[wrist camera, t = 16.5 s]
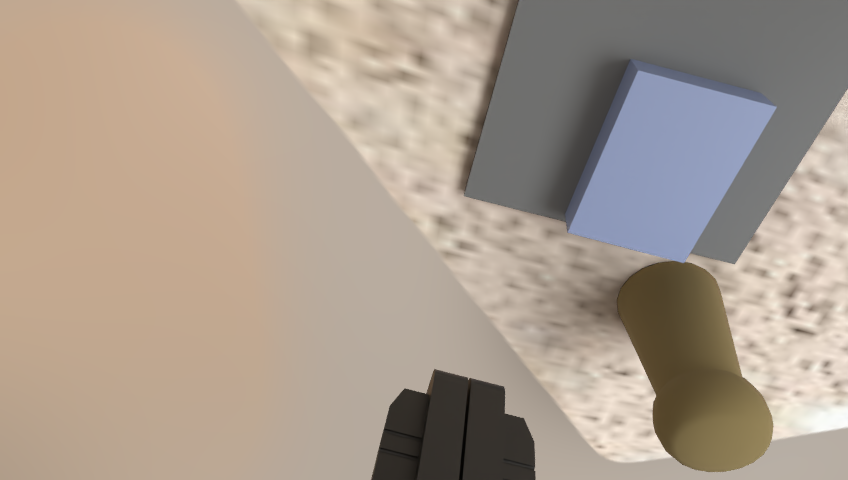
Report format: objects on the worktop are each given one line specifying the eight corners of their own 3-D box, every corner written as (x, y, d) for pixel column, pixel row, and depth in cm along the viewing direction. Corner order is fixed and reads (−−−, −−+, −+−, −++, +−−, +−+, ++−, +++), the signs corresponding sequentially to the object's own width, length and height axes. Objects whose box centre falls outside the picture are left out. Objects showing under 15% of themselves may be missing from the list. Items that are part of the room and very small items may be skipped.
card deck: (630, 58, 27) (761, 93, 27) (564, 214, 32) (675, 243, 32) (637, 70, 25) (777, 106, 25) (567, 232, 30) (683, 263, 30)
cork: (690, 244, 33) (758, 386, 23) (738, 311, 35) (818, 466, 25) (598, 291, 35) (626, 435, 26) (647, 351, 37) (689, 504, 28)
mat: (889, 9, 25) (897, 11, 25) (731, 258, 33) (734, 264, 32) (540, -78, 25) (541, -78, 25) (464, 191, 33) (464, 196, 32)
